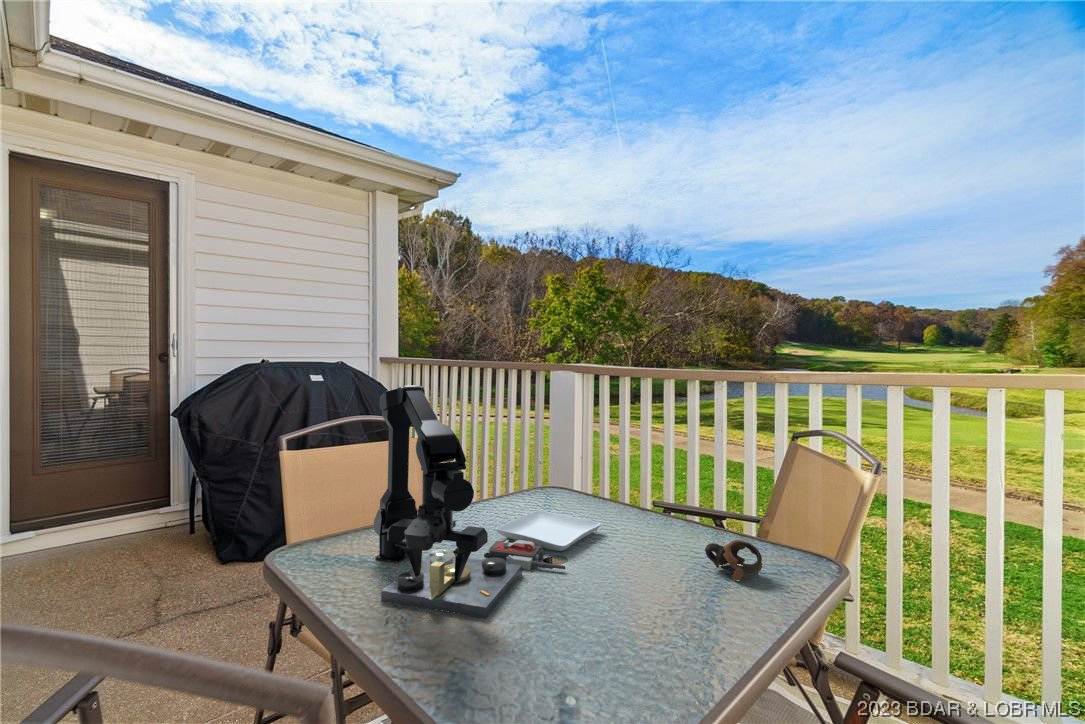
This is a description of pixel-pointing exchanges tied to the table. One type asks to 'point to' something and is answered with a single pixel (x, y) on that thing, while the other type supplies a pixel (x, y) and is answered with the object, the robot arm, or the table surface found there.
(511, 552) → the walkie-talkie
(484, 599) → the instrument base
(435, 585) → the brass knob
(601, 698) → the table surface
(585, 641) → the table surface
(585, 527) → the salad plate
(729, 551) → the pottery mug
